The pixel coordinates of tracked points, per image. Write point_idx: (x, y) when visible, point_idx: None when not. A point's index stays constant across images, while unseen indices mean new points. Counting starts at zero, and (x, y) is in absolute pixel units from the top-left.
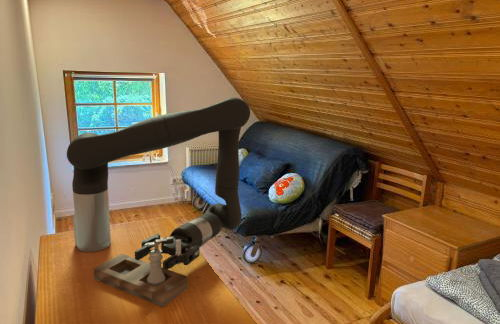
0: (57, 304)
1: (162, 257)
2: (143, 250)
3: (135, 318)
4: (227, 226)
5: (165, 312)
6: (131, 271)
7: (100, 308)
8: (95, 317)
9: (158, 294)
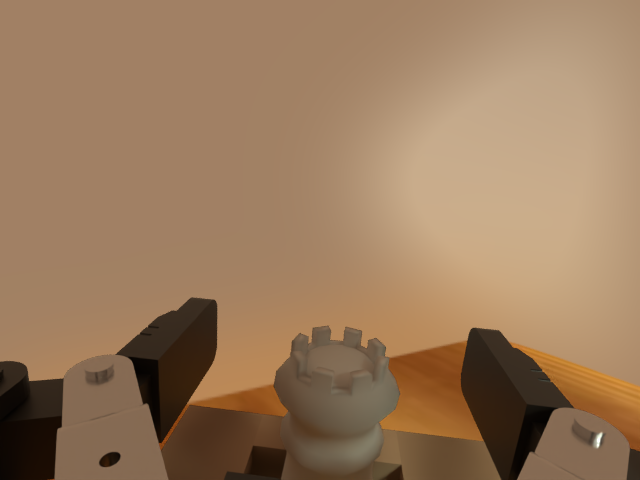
0: None
1: (279, 392)
2: (494, 377)
3: (271, 387)
4: None
5: (167, 440)
6: None
7: (418, 390)
8: (389, 364)
9: (217, 412)
